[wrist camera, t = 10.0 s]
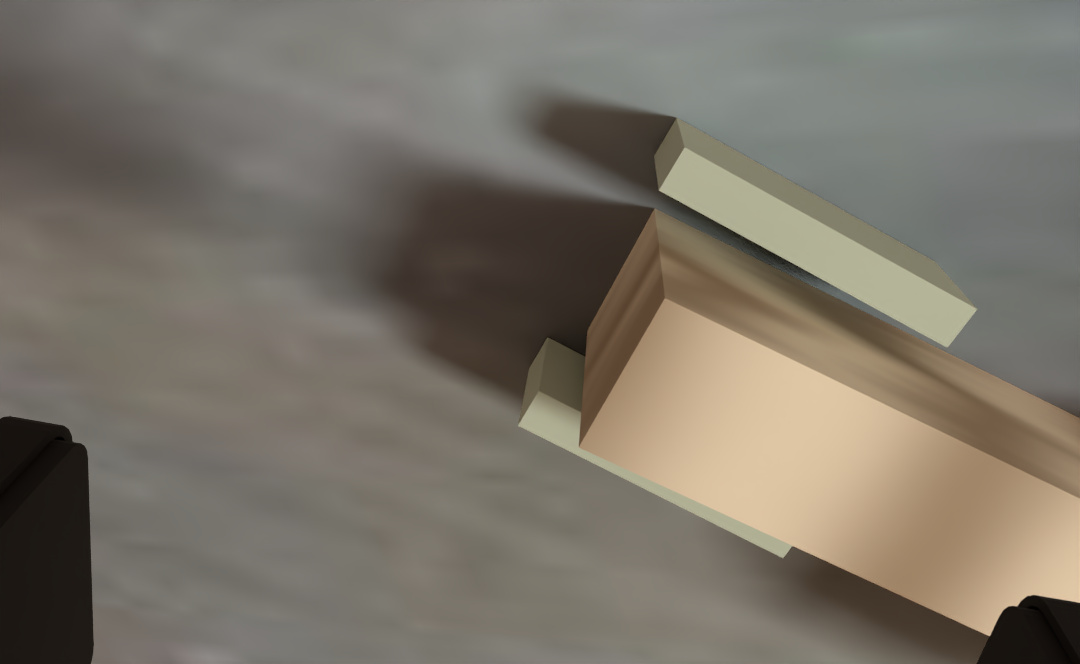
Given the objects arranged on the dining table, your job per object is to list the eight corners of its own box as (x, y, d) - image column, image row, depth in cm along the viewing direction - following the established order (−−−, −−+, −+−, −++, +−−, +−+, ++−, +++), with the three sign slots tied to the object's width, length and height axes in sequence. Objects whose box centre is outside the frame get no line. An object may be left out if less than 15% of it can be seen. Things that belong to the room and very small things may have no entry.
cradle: (528, 368, 25) (518, 425, 23) (676, 117, 23) (685, 147, 20) (765, 489, 26) (782, 558, 23) (935, 261, 23) (976, 309, 21)
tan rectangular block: (587, 327, 25) (578, 447, 19) (654, 206, 24) (664, 298, 18) (1060, 552, 27) (1175, 721, 21) (1147, 450, 25) (1296, 603, 20)
